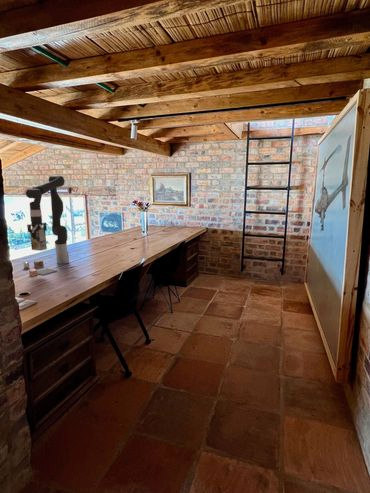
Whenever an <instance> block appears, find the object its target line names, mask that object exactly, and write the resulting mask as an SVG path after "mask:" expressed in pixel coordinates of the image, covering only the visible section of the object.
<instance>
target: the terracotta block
mask: <svg viewBox="0 0 370 493" xmlns="http://www.w3.org/2000/svg"><path fill="white" fill-rule="evenodd" d="M37 271H38V269H35V268H32V269H28V274H29V276H31V277H34V276H38V275H39V274H38V273H37Z"/></svg>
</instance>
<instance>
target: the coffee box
mask: <svg viewBox="0 0 370 493" xmlns="http://www.w3.org/2000/svg"><path fill="white" fill-rule="evenodd" d="M29 236H30V245H31V250H32V251H45V250H47V248H48V247H47V237H46V231H45V229H36V230H35V231H34V238H32V237H31V233H30V232H29Z"/></svg>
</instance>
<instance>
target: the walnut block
mask: <svg viewBox="0 0 370 493" xmlns="http://www.w3.org/2000/svg"><path fill="white" fill-rule="evenodd" d="M33 267H34V268H36V269H38V268H39V269H40V268H43V267H44V261H43V260H42V259H41V260H40V259H38V260H35V261H33Z"/></svg>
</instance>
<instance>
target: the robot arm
mask: <svg viewBox="0 0 370 493" xmlns="http://www.w3.org/2000/svg"><path fill="white" fill-rule="evenodd" d="M64 185H65V179H64V177H63V176H62V175H49V178H48V181H47V182H43V183H41V184H38V185H36V186H33V187H30V188H28V189H27V190H26V191H25V196H26V197H27V198H29V199H33V201H30V202H29V213H30V214H29V216H30V222H31V223H29V224H27V225H26V228H27V232H28V233H29V234H30V233H31V237H32V238H34V231H35V230H36V229H45V232H46V231H47V230H48V228H47V222H43V218H42V210H41V201H42V197H43V196H42V195H44V194H46V193H47V192H50V202H51V203H50V204H51V205H50V206H51V217H52V218H51V221H52V222H51V231H52V234H53V235H54V236H57V239H56V240H55V241H54V247H55V256H56V258H55V260H56V264H60V265H61V264H67V263H69V262H70V259H69V258H70V256H69V251H68V244H67V241H68V230H67V228H66V226H65V225H61V218H62V216H63V212H64V202H63V199H62V198H61V197H60V195H59V193H58V189H57V188H60V187H63V186H64Z"/></svg>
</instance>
